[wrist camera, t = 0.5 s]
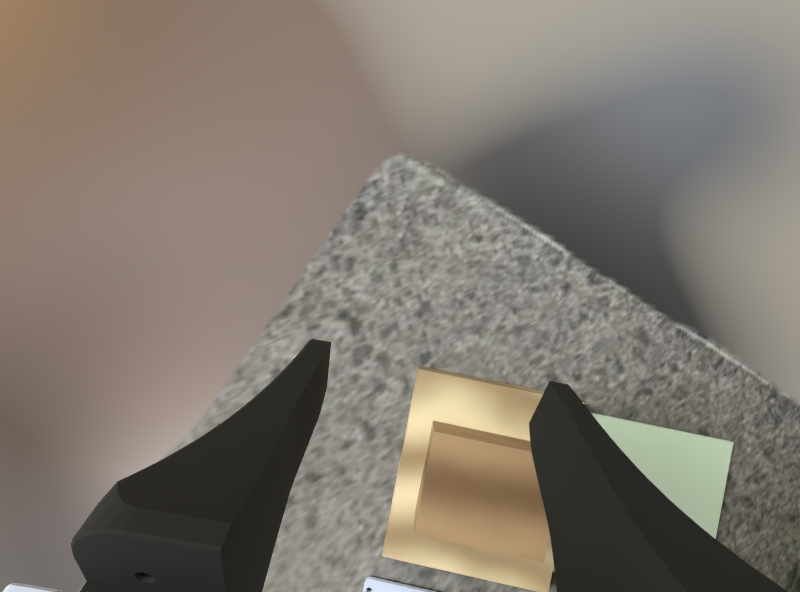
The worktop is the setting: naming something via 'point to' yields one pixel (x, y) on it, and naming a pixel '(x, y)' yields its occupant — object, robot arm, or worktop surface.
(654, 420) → the worktop surface
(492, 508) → the walnut tile
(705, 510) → the sage mat
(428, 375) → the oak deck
